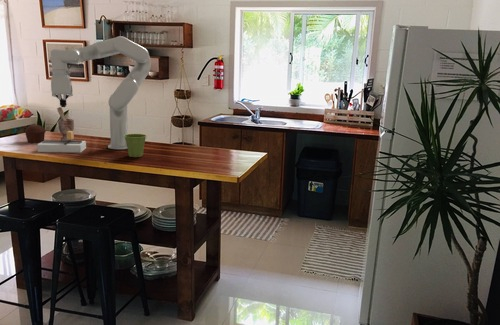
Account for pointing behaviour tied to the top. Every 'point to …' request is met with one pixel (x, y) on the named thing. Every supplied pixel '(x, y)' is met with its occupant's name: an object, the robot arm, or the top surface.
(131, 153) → the plant pot
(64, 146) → the control panel
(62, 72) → the robot arm
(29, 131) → the muffin
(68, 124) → the mortar and pestle
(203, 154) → the top surface
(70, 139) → the slider tab
